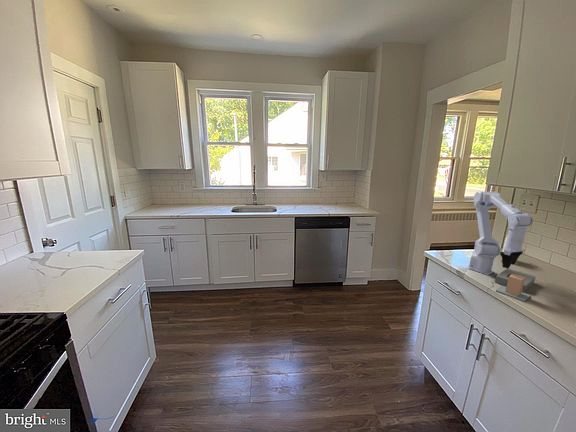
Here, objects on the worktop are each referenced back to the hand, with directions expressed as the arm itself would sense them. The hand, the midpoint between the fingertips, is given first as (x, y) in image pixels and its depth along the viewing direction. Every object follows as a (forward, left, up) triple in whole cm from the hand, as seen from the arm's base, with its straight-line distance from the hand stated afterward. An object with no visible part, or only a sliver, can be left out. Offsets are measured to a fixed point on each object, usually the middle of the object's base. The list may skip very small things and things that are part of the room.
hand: (508, 265), depth 116 cm
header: (+2, +8, -10) cm, 13 cm away
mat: (+5, -6, -10) cm, 13 cm away
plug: (+5, -6, -10) cm, 13 cm away
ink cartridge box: (-10, +40, -11) cm, 43 cm away
